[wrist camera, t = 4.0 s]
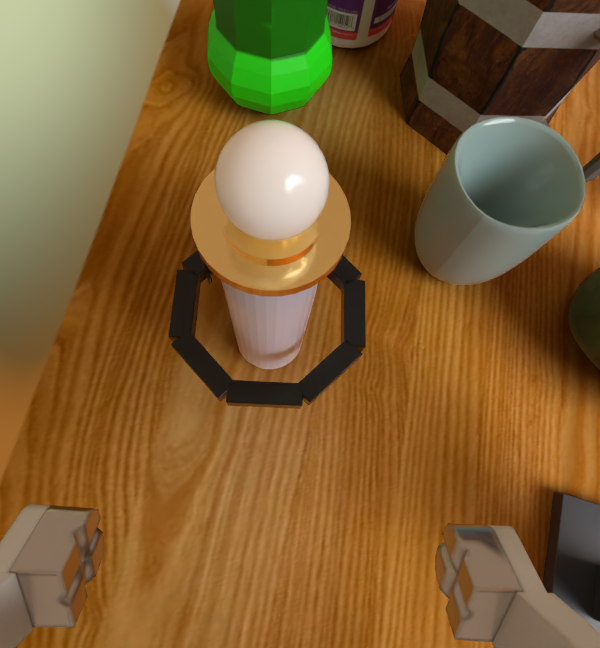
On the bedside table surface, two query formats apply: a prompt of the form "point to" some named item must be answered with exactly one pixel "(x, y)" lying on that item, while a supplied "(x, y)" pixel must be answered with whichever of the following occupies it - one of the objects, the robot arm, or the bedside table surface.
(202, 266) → the ring stand
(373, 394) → the bedside table surface
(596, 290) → the fruit
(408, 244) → the bedside table surface
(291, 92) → the plastic bottle
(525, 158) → the cup
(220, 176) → the perfume bottle
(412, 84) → the mug
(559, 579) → the pedestal tray stand
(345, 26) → the pill bottle
